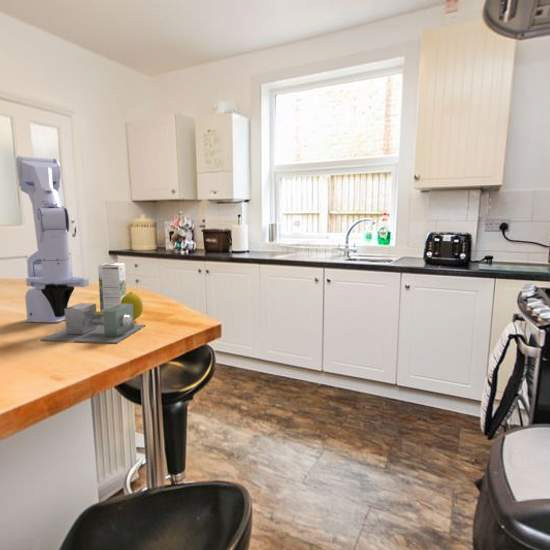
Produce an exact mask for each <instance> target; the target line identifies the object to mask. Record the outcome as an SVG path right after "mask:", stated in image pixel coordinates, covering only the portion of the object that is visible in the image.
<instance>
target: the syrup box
mask: <svg viewBox="0 0 550 550" xmlns="http://www.w3.org/2000/svg"><path fill="white" fill-rule="evenodd" d="M97 267H98V268H97V271H98V288H99V289H98V291H99V292H98V293H99V309H100V311H102V312H103V311H105V310H107V309H110V308H112V307H114V306H117V305H119V304H121V300H122V298H123V297H124V296H125V295H126V294H127V279H126V264H125V263H124V262H105V263H102V264H100V265H98V266H97Z"/></svg>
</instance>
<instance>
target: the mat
mask: <svg viewBox="0 0 550 550" xmlns="http://www.w3.org/2000/svg"><path fill="white" fill-rule="evenodd" d="M144 326H145V327H146V325H145V324H134V328H133V329H132V330H130V331H128V332H127V333H125V334H123V335H121V336H120V337H118V338H107V337H105V333H104V326H97V328H95V329H93V330H91V331H89V332H87V333H85V334H67V333H66V328H64V329H61V330H59V331H57V332H55V333H52V334H50V335H48V336H46V337H45V336H44V337H42V338H41V339H40V341H41V342H59V341H74V342H73V343H87V342H94V343H93V344H114V343H117V344H118V342H119V343H121V342H122V341H123V340H125V339H127V338H128V337H130V336H132V335H134V334H135V333H136V331H137V330H138V331H139V329H140V330H142V329H143V328H145V327H144ZM142 327H143V328H142ZM141 328H142V329H141ZM138 331H137V332H138ZM134 332H135V333H134ZM131 334H132V335H131ZM126 337H127V338H126Z"/></svg>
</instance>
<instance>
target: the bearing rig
mask: <svg viewBox="0 0 550 550" xmlns="http://www.w3.org/2000/svg"><path fill="white" fill-rule="evenodd" d="M92 323H93V325H96V326H104V333H105V337H107V338H118V337H120V336H121V335H123V334H125V333H127V332H128V331H130V330H132V329H133V328H134V325H135V320H134V316H133V304H119V305H117V306H114V307H112V308H110V309H107V310H105V311H103V312H102V311H98V310H96V312H95V315H94V316H93V318H92Z"/></svg>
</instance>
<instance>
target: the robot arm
mask: <svg viewBox="0 0 550 550" xmlns="http://www.w3.org/2000/svg"><path fill="white" fill-rule="evenodd" d="M15 162H16V163H15V164H16V174H17V180H18V181H17V182H18V186H19V188H20V191H21V192H23V193H25V194H27V196H28V197H29V199H30V202H31V207H32V214H33V220H34V223H33V224H34V230H35V238H36V244H37V251H36V252H33V254H31V255H30V256H29V257H28V259H27V277H26V278H25V279H26V280H25V281H26V287H30V288H28V289H27V291H26V293H25V298H24V299H25V308H26V317H27V318H26V319H25V320H24V322H29V323H60V322H63V321H65V308H68V307H69V302H70V298H71V296H72V293H73V292H74V291H75V287H76V288H77V287H79V288H87V287H89V286H90V282H89V277H78V276H73V271H72V266H71V262H70V261H71V259H70V249H69V248H70V247H69V236H68V234H69V232H70V227H71V226H70V225H71V222H70V214H69V211H68V209H67V207H66V206H65V205H63V201H62V197H61V195H60V193H59V189H60V187H61V186H60V183H61V165H60V161H59V160H58V159H57V158H42V157H29V156H21V155H17V156H16V158H15Z"/></svg>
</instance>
